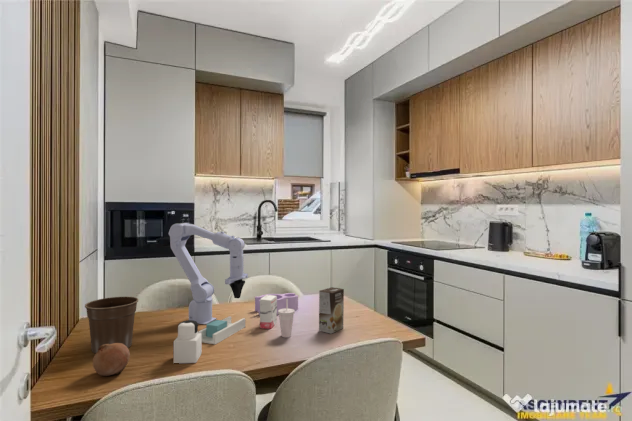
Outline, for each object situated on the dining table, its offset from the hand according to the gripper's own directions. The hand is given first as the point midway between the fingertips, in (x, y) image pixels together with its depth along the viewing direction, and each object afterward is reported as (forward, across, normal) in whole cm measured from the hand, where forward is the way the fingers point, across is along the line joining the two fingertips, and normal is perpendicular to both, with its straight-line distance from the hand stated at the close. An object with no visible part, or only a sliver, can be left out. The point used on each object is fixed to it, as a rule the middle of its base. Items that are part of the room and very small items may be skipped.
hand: (237, 297), depth 150 cm
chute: (+10, -14, -2) cm, 18 cm away
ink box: (+11, +1, -14) cm, 18 cm away
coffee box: (+11, +6, -40) cm, 42 cm away
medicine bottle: (+11, -37, -6) cm, 39 cm away
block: (+9, -18, -3) cm, 20 cm away
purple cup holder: (+11, +21, -8) cm, 25 cm away
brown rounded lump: (+10, -53, +8) cm, 55 cm away
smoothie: (+11, -7, -26) cm, 30 cm away
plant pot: (+10, -39, +26) cm, 48 cm away
